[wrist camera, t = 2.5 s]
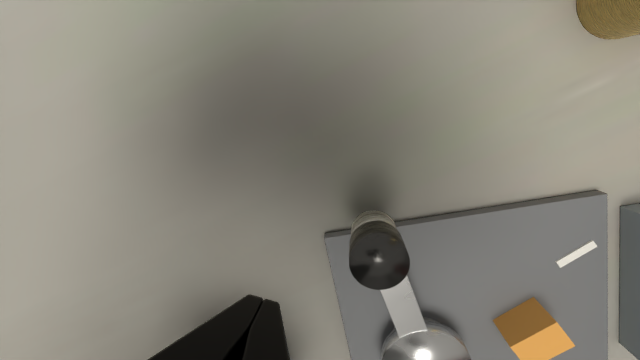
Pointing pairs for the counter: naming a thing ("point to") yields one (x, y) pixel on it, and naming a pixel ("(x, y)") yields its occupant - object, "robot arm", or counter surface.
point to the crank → (398, 292)
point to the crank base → (496, 280)
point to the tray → (630, 279)
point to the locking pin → (610, 17)
